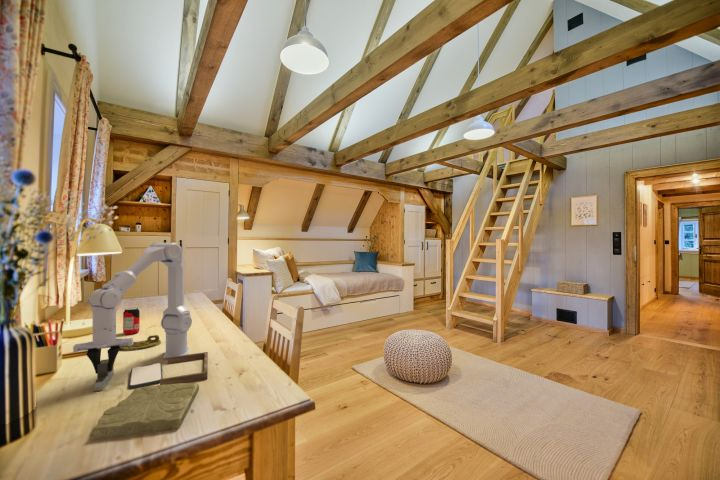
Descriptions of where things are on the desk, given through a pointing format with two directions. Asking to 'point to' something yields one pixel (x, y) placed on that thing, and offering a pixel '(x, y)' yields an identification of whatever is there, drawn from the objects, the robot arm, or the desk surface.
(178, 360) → the walnut bay
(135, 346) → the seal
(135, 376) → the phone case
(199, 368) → the desk surface
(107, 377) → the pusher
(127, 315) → the beverage can
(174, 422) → the decorative tile
